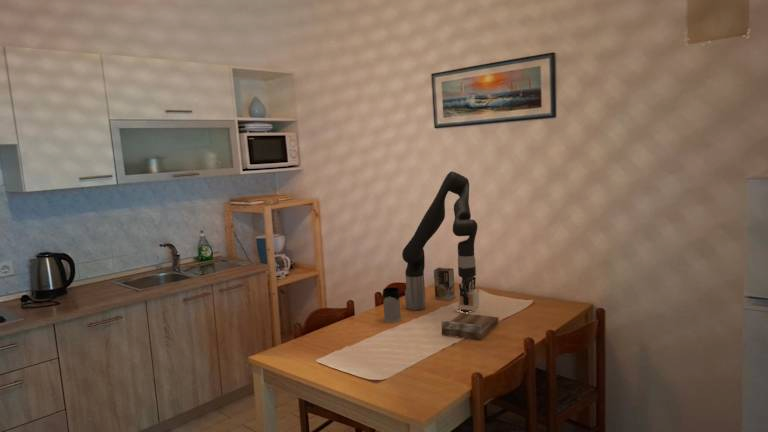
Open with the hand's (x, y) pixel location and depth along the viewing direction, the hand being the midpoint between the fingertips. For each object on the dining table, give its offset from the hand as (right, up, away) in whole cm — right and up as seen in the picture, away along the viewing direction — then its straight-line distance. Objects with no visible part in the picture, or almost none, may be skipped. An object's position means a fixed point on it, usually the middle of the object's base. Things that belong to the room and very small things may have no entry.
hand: (468, 302), depth 229 cm
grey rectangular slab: (+2, -12, +3) cm, 13 cm away
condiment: (+3, -9, +29) cm, 30 cm away
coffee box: (-4, -6, +52) cm, 52 cm away
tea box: (0, -2, 0) cm, 2 cm away
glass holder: (-32, -12, +25) cm, 42 cm away
